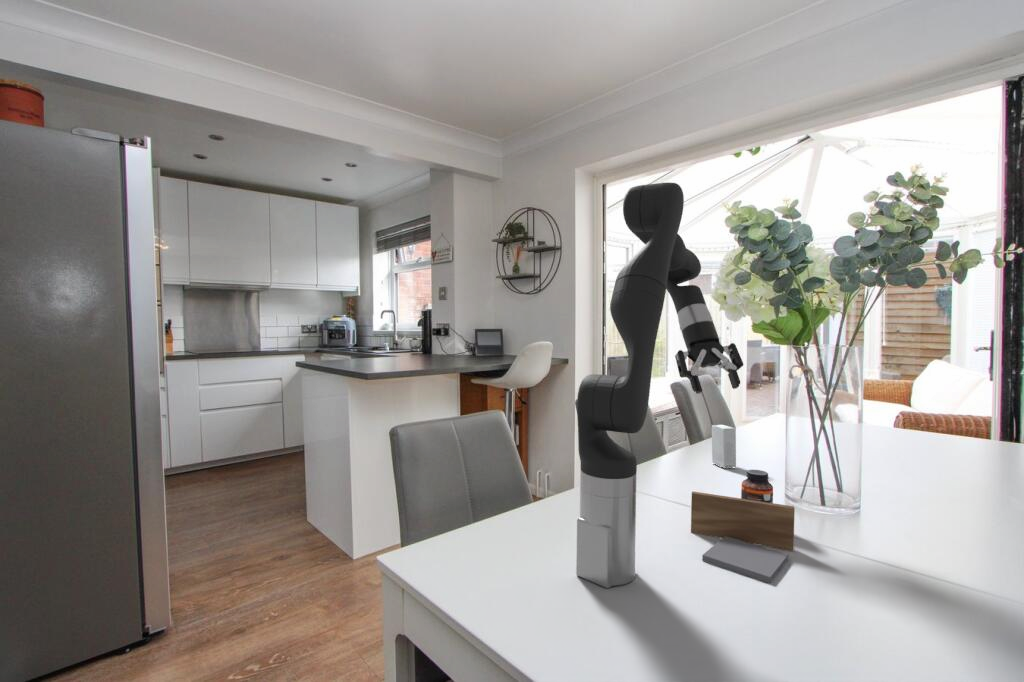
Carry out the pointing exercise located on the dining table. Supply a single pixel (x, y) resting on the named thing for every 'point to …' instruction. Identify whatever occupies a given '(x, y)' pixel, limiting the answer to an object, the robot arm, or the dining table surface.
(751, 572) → the charcoal pad
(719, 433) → the grey upright block
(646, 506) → the dining table surface
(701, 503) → the walnut screen
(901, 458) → the dining table surface
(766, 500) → the supplement bottle
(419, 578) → the dining table surface
